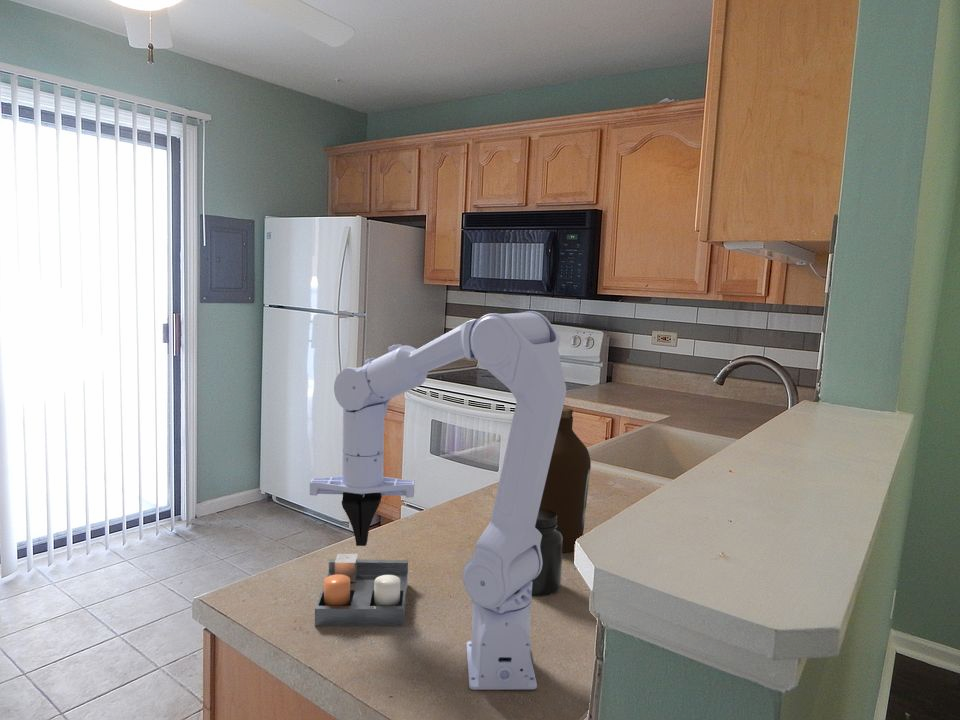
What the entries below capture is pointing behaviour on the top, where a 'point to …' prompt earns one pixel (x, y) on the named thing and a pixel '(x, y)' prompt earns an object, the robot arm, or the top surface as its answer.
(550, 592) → the supplement bottle
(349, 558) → the slider knob
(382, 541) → the top surface
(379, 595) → the ivory button
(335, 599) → the orange button
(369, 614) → the panel
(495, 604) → the robot arm
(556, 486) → the olive oil
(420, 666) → the top surface
